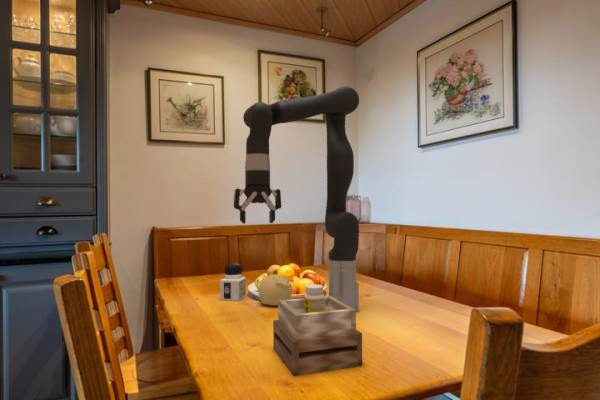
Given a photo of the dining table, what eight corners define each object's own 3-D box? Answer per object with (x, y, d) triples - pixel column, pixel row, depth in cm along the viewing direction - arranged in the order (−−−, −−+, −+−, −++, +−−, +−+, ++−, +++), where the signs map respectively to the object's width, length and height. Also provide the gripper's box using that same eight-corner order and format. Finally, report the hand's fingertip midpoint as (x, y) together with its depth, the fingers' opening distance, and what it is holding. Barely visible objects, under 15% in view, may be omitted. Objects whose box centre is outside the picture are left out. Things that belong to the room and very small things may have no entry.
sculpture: (291, 308, 132) (291, 277, 132) (256, 308, 132) (256, 277, 133) (292, 300, 144) (292, 271, 144) (260, 300, 144) (260, 271, 144)
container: (239, 301, 143) (239, 266, 143) (219, 300, 144) (219, 265, 144) (246, 296, 150) (246, 263, 150) (227, 295, 152) (227, 262, 152)
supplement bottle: (303, 319, 92) (303, 284, 92) (323, 318, 92) (323, 283, 92) (305, 325, 87) (305, 288, 87) (326, 324, 87) (325, 287, 88)
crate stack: (332, 341, 100) (332, 295, 100) (362, 365, 84) (362, 310, 85) (273, 348, 94) (273, 300, 95) (293, 375, 79) (293, 317, 80)
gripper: (236, 168, 111) (236, 224, 110) (283, 169, 115) (283, 223, 115) (232, 170, 118) (232, 223, 117) (277, 171, 122) (277, 222, 122)
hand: (257, 223), depth 116 cm, fingers open, 8 cm apart
